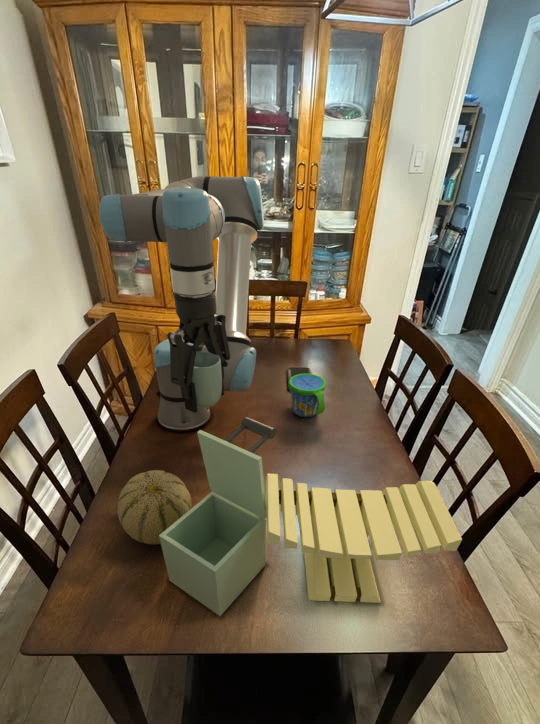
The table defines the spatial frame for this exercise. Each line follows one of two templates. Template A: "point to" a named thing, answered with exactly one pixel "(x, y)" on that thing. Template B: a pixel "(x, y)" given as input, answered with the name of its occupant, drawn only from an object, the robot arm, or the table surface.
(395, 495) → the slatted curved stool
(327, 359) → the table surface
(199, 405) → the cup
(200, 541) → the green box
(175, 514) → the cantaloupe
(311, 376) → the snack cup
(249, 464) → the pale green box lid
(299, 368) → the phone
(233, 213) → the robot arm
